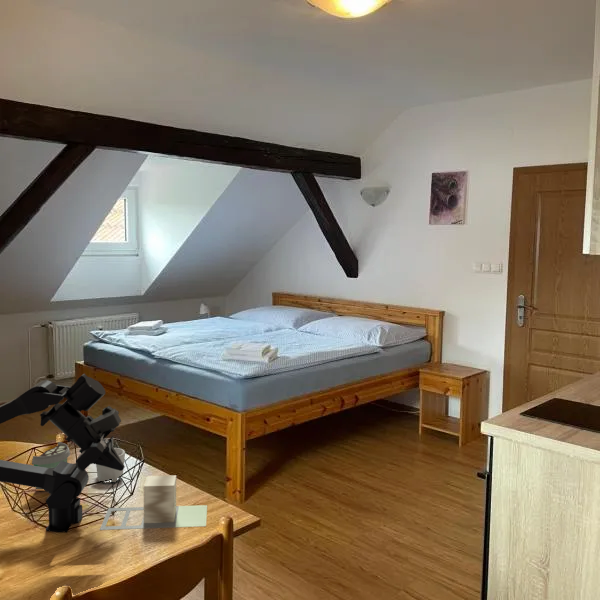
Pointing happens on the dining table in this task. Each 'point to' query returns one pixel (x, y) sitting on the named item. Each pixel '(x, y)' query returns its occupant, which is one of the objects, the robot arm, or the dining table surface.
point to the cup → (110, 469)
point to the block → (159, 499)
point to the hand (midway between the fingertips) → (123, 468)
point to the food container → (52, 457)
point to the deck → (183, 518)
